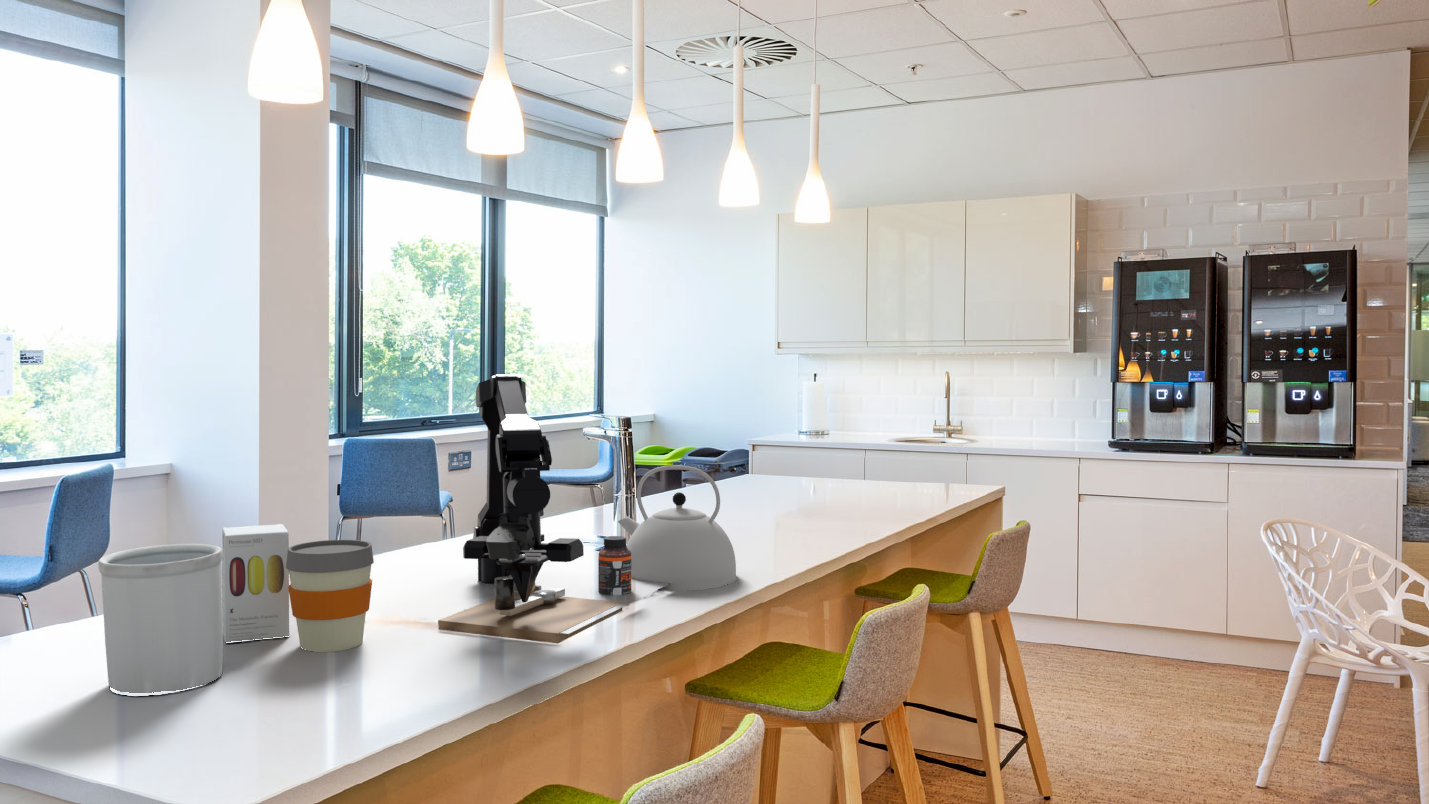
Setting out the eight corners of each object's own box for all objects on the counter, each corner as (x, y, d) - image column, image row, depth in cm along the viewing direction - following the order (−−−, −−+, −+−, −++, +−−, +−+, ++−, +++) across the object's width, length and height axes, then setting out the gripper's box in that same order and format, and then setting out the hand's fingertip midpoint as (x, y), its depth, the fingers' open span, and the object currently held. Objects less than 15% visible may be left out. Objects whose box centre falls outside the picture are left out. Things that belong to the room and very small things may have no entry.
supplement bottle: (626, 604, 186) (625, 540, 186) (594, 602, 187) (593, 539, 187) (635, 596, 192) (635, 535, 191) (604, 595, 193) (603, 534, 193)
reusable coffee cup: (286, 638, 164) (284, 542, 163) (371, 629, 169) (369, 537, 168) (288, 659, 152) (286, 556, 151) (378, 650, 157) (377, 550, 156)
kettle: (590, 584, 203) (590, 468, 202) (643, 562, 224) (643, 457, 223) (709, 595, 193) (709, 473, 192) (753, 572, 214) (753, 462, 213)
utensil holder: (94, 705, 132) (90, 567, 131) (109, 672, 146) (106, 547, 145) (223, 690, 138) (220, 558, 137) (226, 660, 152) (223, 540, 151)
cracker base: (437, 629, 169) (437, 601, 169) (516, 598, 191) (516, 573, 191) (558, 643, 161) (558, 614, 161) (626, 608, 183) (626, 583, 182)
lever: (550, 594, 185) (550, 560, 185) (569, 597, 184) (569, 561, 183) (488, 617, 169) (488, 579, 169) (509, 620, 168) (509, 581, 167)
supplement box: (224, 645, 160) (221, 535, 159) (221, 631, 168) (219, 526, 167) (291, 637, 164) (289, 530, 163) (285, 624, 172) (284, 522, 171)
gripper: (443, 511, 163) (447, 611, 164) (554, 514, 158) (557, 616, 158) (478, 501, 174) (481, 595, 174) (583, 503, 168) (586, 599, 169)
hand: (524, 601), depth 169 cm, fingers closed
